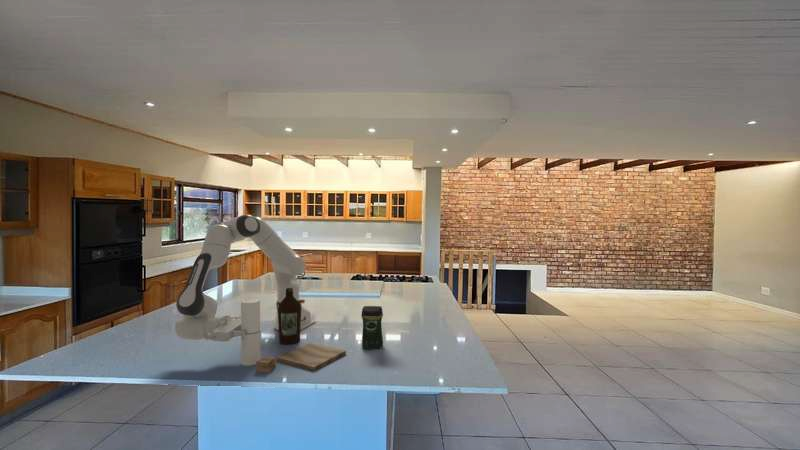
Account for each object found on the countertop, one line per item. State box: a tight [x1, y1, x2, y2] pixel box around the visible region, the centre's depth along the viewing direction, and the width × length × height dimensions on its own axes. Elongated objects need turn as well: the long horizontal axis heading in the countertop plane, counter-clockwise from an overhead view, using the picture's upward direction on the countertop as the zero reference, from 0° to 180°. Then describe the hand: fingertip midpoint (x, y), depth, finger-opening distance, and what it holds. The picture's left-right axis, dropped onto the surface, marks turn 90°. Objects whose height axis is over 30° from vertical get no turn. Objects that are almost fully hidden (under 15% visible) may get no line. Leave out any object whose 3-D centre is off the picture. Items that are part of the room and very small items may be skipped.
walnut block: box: [255, 356, 277, 374], centre depth 147 cm, size 5×5×4 cm
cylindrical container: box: [240, 298, 261, 367], centre depth 154 cm, size 7×7×25 cm
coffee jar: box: [360, 305, 384, 350], centre depth 172 cm, size 10×8×19 cm
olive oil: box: [278, 288, 302, 345], centre depth 179 cm, size 11×11×25 cm
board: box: [276, 342, 347, 372], centre depth 159 cm, size 20×20×2 cm
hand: (251, 329), depth 154 cm, fingers open, 8 cm apart
